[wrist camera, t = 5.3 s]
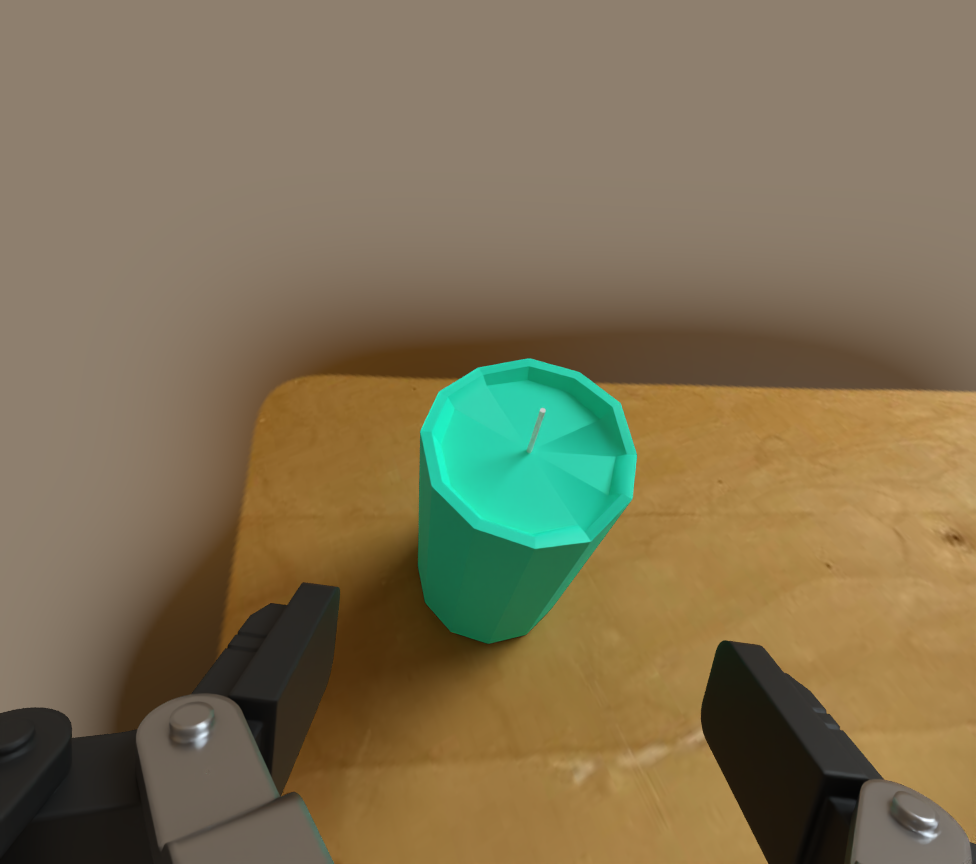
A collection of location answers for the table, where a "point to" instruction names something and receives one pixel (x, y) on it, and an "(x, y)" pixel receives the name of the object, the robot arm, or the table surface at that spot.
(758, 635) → the table surface
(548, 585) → the candle
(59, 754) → the robot arm
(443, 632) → the table surface
